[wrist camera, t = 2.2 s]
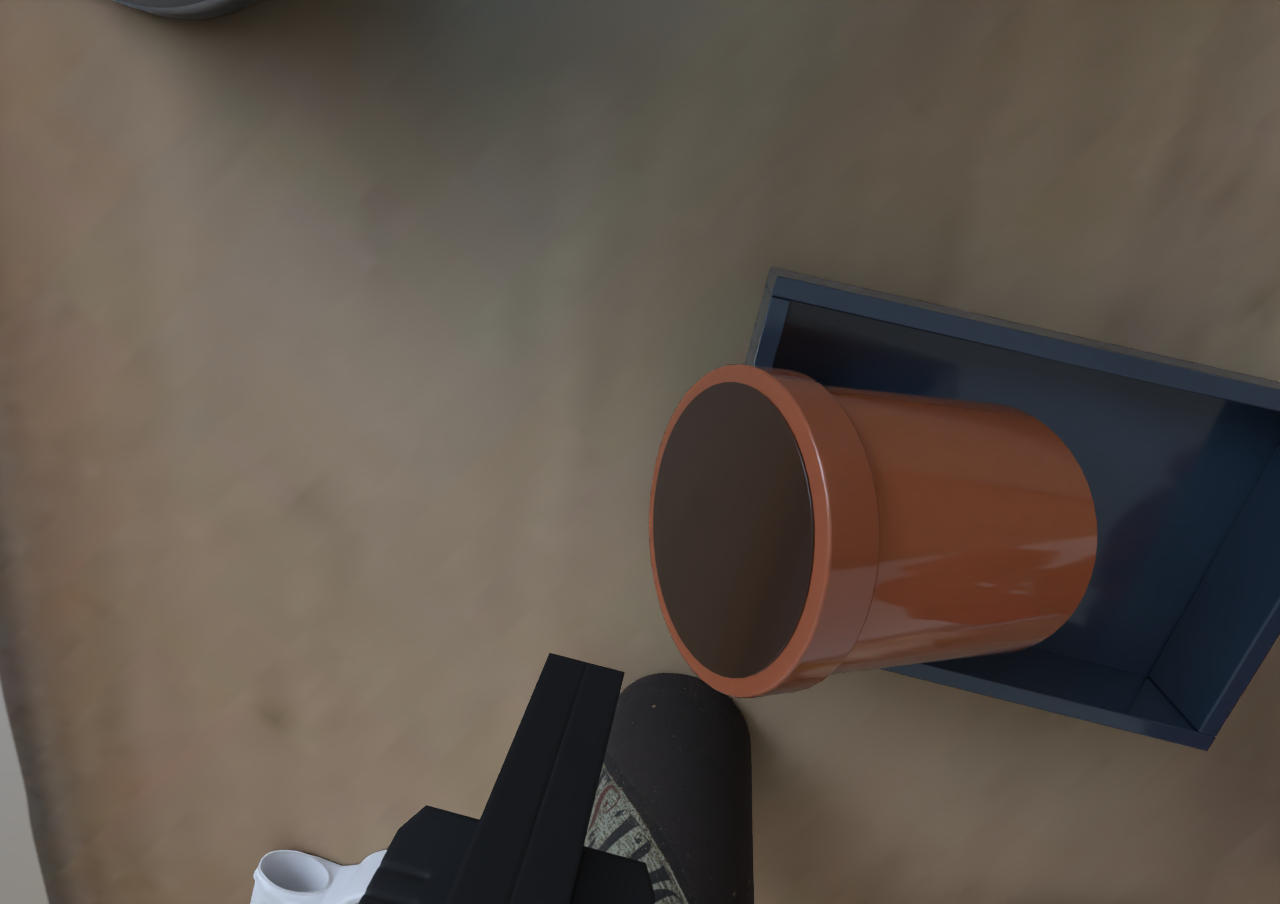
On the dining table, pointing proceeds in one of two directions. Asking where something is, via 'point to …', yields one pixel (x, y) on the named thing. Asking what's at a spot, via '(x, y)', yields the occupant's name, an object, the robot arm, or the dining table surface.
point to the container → (679, 791)
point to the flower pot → (858, 530)
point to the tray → (1120, 487)
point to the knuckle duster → (311, 879)
